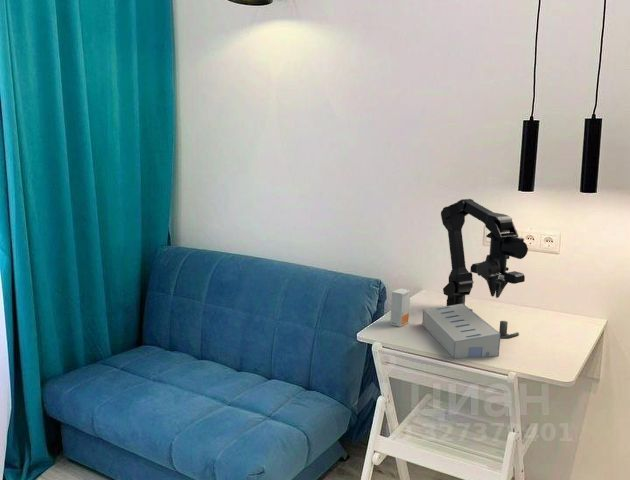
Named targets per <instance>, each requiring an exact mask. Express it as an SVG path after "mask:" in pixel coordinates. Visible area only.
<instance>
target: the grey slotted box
mask: <svg viewBox="0 0 630 480" xmlns="http://www.w3.org/2000/svg"><path fill="white" fill-rule="evenodd" d="M470 309H471V308H470V307H468V306H467V305H464V304H457V305H451V306H446V305H445V306H439V307H438V306H437V307H432V308H429V309H423V310H422V323H421V324H422V325H423V326H424V328H426V330H427V331H428V332H429V333H430V334H431V335H432V336H433V337H434V338H435V339H436V340H437V342H438V343H439V344H440V345H441V346H442V347H443V349H445V350H446V351H447V352H448V353H449V354H450V356H451V357H453V359H458V358H459V359H460V358H461V359H463V358H473V357H475V358H476V357H478V358H479V357H482V358H483V357H499V356H500V346H501V344H500V343H501V338H500V335H501V334H500V333H499V331H498V330H497V329H495V328H494V327H493V326H492V325H490V324H489V323H488V322H487V321H485V320H484V319H483V318H482V317H480V316H479V315H478V314H477V313H475V312H474V311H472V310H473V309H472V310H470Z"/></svg>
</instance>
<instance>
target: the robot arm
mask: <svg viewBox="0 0 630 480" xmlns="http://www.w3.org/2000/svg"><path fill="white" fill-rule="evenodd" d="M468 215H470V216H472V217H473V218H475V219H476V220H479V221H480V222H482V223H483V224H484V226H485V228H486V229H487V230H488V231H489V233H487V234H486V238H489V239H490V242H489V243H490V244H489V245H490V246H489V253H488V254H487V255H486V257H485V260H484V261H481V262H477V263H472V265H471V266H470V271H469V270H468V269H467V268H466V267H467V266H466V260H465V259H466V258H465V249H464V242H463V241H464V239H463V227H464V224H465V221H466V217H467V216H468ZM440 217H441V222H442V225H443V227H445V229H446V231H447V236H448V244H449V245H448V246H449V254H450V255H449V256H450V262H451V271H450V273H449V275H448V283H447V284H446V285H445V286H444V287H443V288H442V291H443V294H444V295H445V296H446V297H447V298H446V304H445V306H451V305H457V304H464V305H465V304H466V296H470V294H471V291H472V289H473V285H474V282H475V281H474V278H473V274H477V276H479V277H480V276H481V278H483V279H484V280H485V281H486V283H487V286H488V290H489V292H490V293H489V294H490V296H491V297H495V298H496V299H498V298H500V296H501V294H502V293H503V291H504V289H505V287H506V286H507V285H508V283H509V284H512V285H513V284H514V285H515V284H519V283H523V282H525V277H526V275H524V273H523V272H521V271H515V270H514V271H510V272H509V269H510V268H509V267H507V262H508V260H509V259H510V257H511V258H514V259H518V260H522V259H524V258H525V257H526V256H527V255H528V254H527V253H528V251H529V248H528V244H527V243H526V242H525V239H524V238H525V237H524V238H523V237H519V234H518V233H519V232H518V230H517V229H516V226H515V224H514V222H513V218H512V217H511V216H510V215H507V214H504V213H499V212H493V211H492V210H491V209H489V208H486V207H484V206H483V205H481V204H479V203H478V202H475V201H474V199H471V198H464V199H463V198H462V199H460V200H458V201H457V202H455V203H452V204H450V205H448V206H444V207H443V208H442V210H441V212H440ZM507 271H508V272H507ZM465 306H466V305H465Z"/></svg>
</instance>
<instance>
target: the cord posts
mask: <svg viewBox="0 0 630 480" xmlns="http://www.w3.org/2000/svg"><path fill="white" fill-rule="evenodd" d="M469 309H470V310H472V311H473V309H472V308H469ZM473 312H474V311H473ZM508 324H509V322H508V321H506V320H499V331H498V332H499V333H500V334H501V335H500V339H510V338H514V337H517V336H519V335H520V332H518V331H517V332H514V333H510V334H509V333H508Z"/></svg>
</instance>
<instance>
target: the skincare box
mask: <svg viewBox="0 0 630 480" xmlns="http://www.w3.org/2000/svg"><path fill="white" fill-rule="evenodd" d="M410 299H411V289H410V290H409V289H406V288H401V287H400V288H398V289H395V290H394V291H391V305H390V325H391V326H395V327H399V328H401V327H403V326H405V325H406V324H409V319H410V318H409V317H410V302H411V300H410Z"/></svg>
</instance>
